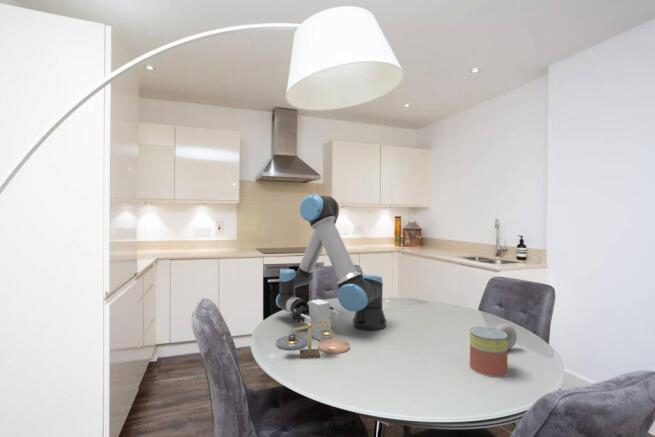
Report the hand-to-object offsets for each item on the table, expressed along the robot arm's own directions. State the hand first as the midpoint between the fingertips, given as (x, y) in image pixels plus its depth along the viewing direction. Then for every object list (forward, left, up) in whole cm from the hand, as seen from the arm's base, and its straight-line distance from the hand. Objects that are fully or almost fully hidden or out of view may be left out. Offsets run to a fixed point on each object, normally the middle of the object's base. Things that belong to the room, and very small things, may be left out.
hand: (324, 318), depth 135 cm
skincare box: (+2, -3, -9) cm, 9 cm away
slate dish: (+13, +4, -9) cm, 16 cm away
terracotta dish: (-3, +9, -9) cm, 13 cm away
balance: (+7, +15, -9) cm, 19 cm away
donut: (-66, +17, -9) cm, 69 cm away
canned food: (-51, +31, -9) cm, 61 cm away
